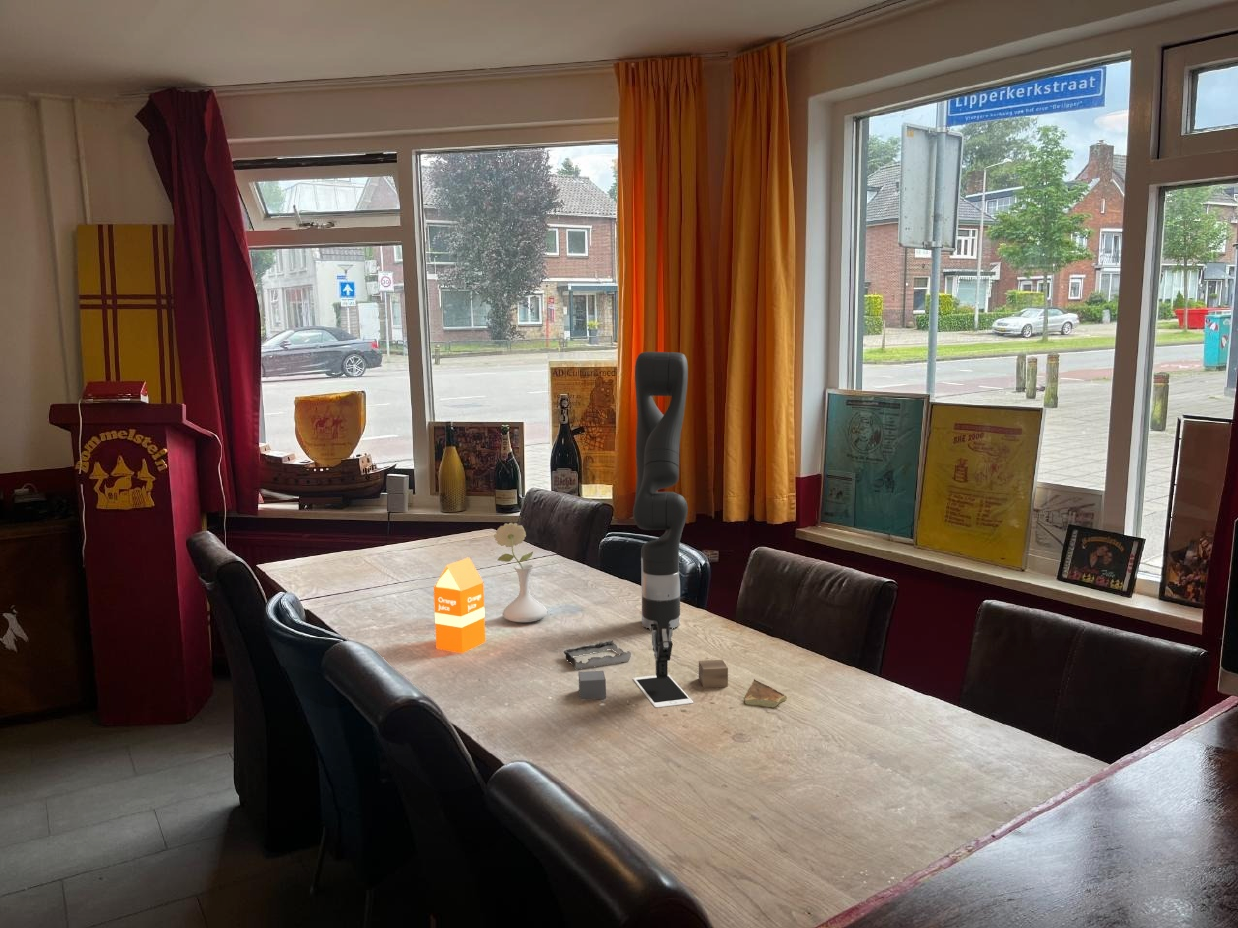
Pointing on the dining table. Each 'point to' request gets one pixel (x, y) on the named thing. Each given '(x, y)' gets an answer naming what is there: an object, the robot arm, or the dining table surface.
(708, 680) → the walnut block
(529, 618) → the flower in vase
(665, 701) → the cell phone
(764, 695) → the shard
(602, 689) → the charcoal block
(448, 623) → the orange juice
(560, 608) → the dining table surface
